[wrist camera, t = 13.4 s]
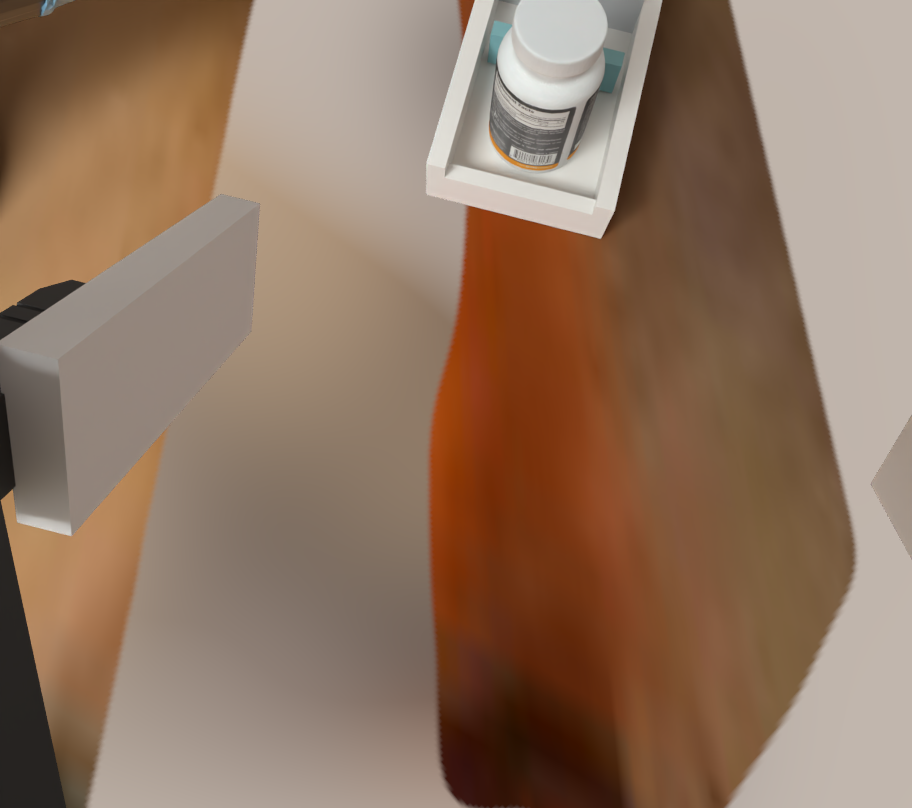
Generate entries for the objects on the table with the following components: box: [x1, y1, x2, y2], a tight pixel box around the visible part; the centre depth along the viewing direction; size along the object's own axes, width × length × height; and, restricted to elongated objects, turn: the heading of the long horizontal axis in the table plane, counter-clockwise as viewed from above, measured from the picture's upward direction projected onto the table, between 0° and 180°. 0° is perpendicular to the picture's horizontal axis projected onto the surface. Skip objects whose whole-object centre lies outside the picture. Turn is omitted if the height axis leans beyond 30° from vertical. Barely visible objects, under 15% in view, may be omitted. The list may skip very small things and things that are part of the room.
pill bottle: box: [489, 0, 608, 173], centre depth 43 cm, size 6×6×10 cm
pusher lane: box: [426, 0, 662, 239], centre depth 47 cm, size 16×11×5 cm
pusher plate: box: [487, 21, 625, 93], centre depth 48 cm, size 3×8×2 cm, turn 75°
